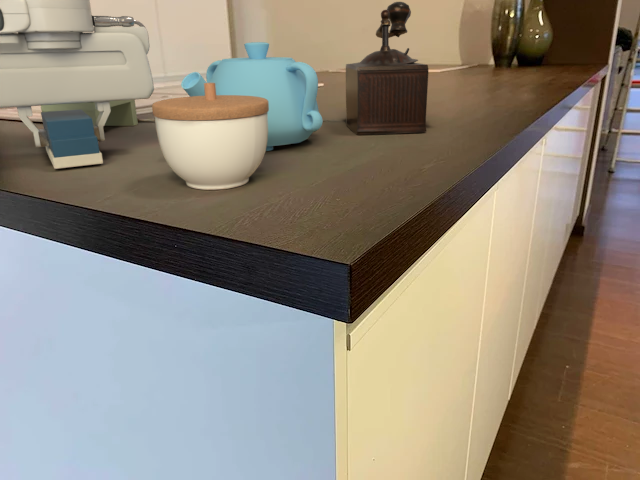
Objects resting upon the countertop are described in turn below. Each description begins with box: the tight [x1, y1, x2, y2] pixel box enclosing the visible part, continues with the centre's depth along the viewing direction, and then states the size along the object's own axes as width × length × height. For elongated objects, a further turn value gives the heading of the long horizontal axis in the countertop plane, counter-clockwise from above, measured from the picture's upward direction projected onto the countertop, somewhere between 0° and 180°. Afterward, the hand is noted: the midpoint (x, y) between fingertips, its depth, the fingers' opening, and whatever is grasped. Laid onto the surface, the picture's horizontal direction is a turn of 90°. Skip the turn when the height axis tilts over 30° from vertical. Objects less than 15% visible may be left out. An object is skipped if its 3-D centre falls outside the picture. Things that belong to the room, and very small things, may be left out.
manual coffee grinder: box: [345, 1, 429, 135], centre depth 81 cm, size 16×11×18 cm
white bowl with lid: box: [151, 83, 269, 191], centre depth 51 cm, size 11×11×9 cm
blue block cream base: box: [40, 109, 104, 170], centre depth 63 cm, size 11×5×5 cm, turn 30°
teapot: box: [180, 41, 324, 152], centre depth 68 cm, size 20×20×13 cm
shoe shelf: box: [40, 99, 139, 127], centre depth 82 cm, size 8×13×7 cm, turn 174°
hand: (70, 143), depth 63 cm, fingers closed on blue block cream base, 4 cm apart
